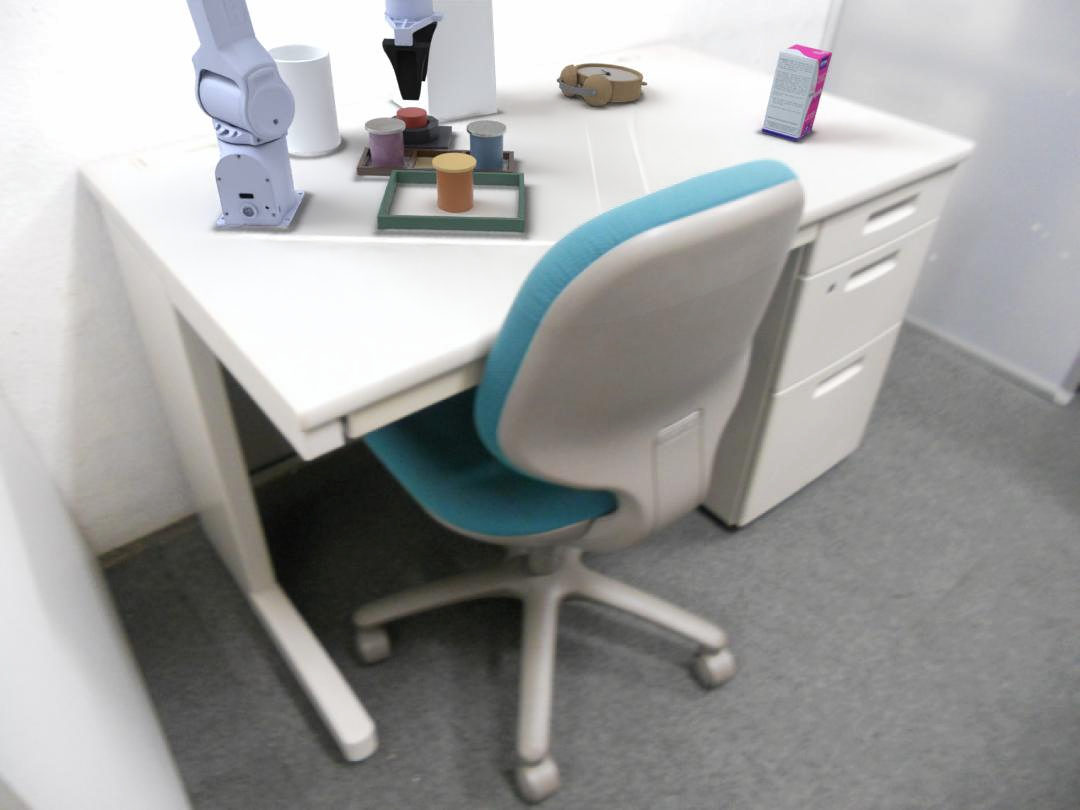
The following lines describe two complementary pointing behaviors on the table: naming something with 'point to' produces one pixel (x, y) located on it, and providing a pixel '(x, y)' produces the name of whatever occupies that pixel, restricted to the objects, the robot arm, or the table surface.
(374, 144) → the mauve pod
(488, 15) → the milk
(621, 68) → the alarm clock
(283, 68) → the mug
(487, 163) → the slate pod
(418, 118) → the button
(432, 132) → the button block
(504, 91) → the table surface
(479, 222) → the tray
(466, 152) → the pod stand
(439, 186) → the coffee pod
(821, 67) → the supplement box
